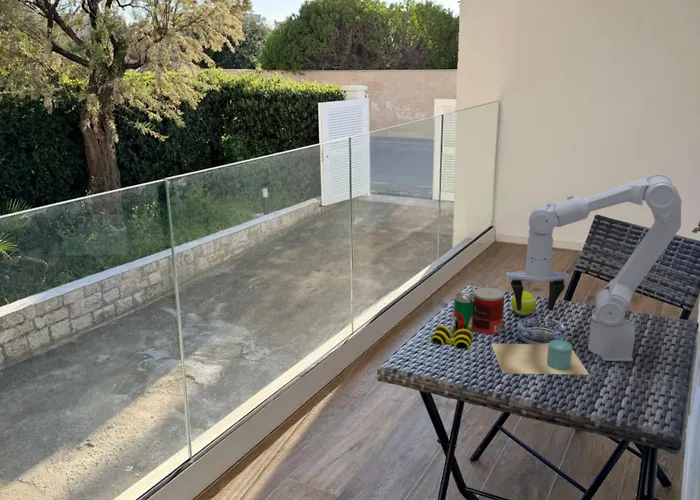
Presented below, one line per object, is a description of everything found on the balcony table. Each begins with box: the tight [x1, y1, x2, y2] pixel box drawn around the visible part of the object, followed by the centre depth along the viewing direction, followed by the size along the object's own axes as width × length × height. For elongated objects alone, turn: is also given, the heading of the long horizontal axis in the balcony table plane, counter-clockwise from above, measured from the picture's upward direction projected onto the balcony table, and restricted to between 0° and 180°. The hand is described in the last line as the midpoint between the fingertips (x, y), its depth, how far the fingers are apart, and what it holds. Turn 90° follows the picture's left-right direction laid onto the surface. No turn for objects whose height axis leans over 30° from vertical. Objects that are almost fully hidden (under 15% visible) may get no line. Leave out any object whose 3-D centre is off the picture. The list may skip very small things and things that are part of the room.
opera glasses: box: [430, 324, 474, 350], centre depth 151 cm, size 10×5×5 cm, turn 66°
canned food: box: [473, 287, 505, 335], centre depth 159 cm, size 8×8×11 cm
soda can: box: [452, 291, 475, 336], centre depth 154 cm, size 5×5×12 cm
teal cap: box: [547, 339, 573, 370], centre depth 139 cm, size 5×5×5 cm
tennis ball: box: [511, 290, 537, 316], centre depth 170 cm, size 7×7×7 cm
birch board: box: [491, 343, 590, 376], centre depth 143 cm, size 19×15×1 cm
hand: (534, 309), depth 150 cm, fingers open, 7 cm apart
